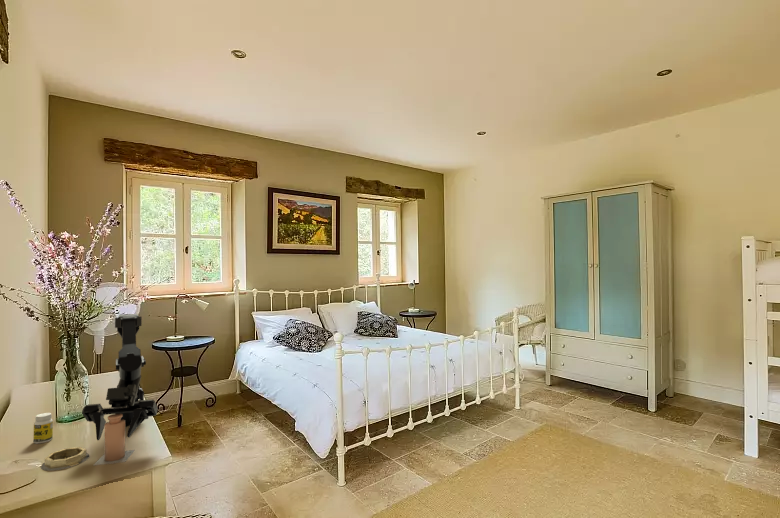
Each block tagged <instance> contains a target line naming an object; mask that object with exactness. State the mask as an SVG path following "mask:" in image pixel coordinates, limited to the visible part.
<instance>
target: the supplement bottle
mask: <svg viewBox="0 0 780 518" xmlns="http://www.w3.org/2000/svg"><path fill="white" fill-rule="evenodd" d="M52 417H53V415H52V413H51V412H44V413H40V414H39V413H38V414H37V415H35V417H34V418H35V421H34V422H33V440H32V441H33V443H34V444H38V445H39V444H44V443H45V444H46V443H48V442H50V441H51V440H52V439H53V438H54V437H53V434H54V432H53V429H54V427H53V426H54V419H52Z"/></svg>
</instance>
